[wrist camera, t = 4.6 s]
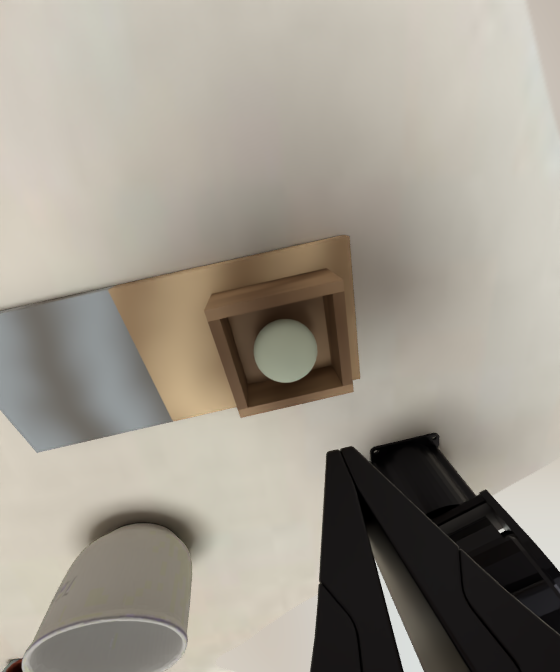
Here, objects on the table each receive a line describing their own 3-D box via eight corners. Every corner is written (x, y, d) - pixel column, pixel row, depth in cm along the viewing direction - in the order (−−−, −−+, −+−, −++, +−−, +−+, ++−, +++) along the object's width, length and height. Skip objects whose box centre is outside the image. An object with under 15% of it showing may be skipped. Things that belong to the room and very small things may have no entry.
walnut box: (326, 268, 16) (343, 279, 13) (338, 366, 19) (353, 391, 16) (211, 293, 16) (203, 310, 13) (241, 388, 19) (240, 417, 16)
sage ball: (305, 304, 16) (319, 327, 13) (313, 355, 17) (328, 387, 14) (246, 317, 16) (246, 344, 13) (260, 367, 17) (262, 402, 14)
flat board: (343, 235, 16) (349, 236, 15) (355, 371, 20) (360, 378, 19) (-51, 322, 16) (-69, 328, 15) (46, 441, 20) (36, 452, 19)
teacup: (76, 507, 23) (-1, 639, 16) (203, 505, 25) (185, 623, 18) (97, 589, 29) (47, 714, 22) (200, 583, 31) (185, 697, 23)
